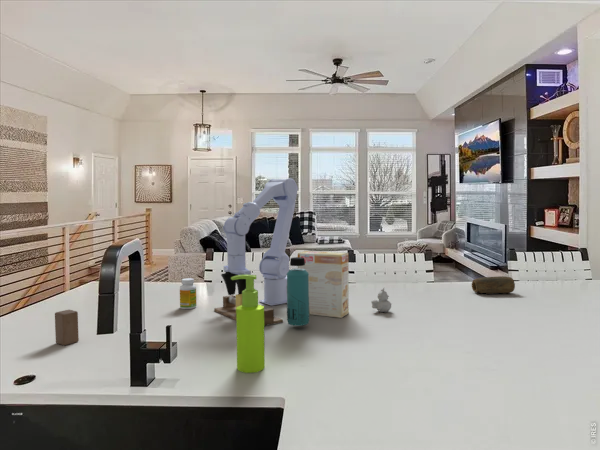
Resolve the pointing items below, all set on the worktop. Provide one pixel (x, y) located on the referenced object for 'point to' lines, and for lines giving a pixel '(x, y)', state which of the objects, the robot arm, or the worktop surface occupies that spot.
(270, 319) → the rail
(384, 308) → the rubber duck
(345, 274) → the coffeecake box
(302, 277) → the beverage bottle
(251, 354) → the soap dispenser
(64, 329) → the wooden block
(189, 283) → the supplement bottle
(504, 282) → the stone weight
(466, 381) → the worktop surface
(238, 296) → the yellow notched block
